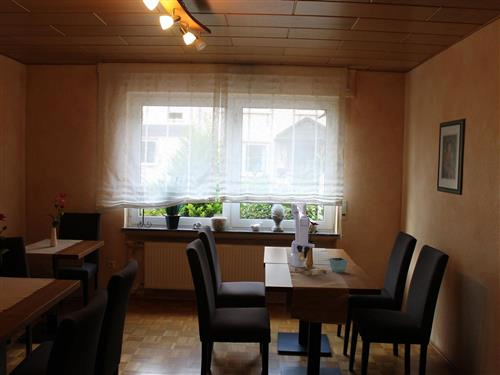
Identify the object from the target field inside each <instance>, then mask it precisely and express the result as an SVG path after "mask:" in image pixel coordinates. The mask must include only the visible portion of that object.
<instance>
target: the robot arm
mask: <svg viewBox="0 0 500 375" xmlns="http://www.w3.org/2000/svg"><path fill="white" fill-rule="evenodd" d="M290 209H291V210H290V212H291V213H290V214H291V216H292V217H293V218H294V233H295V240H293V241H292V242H291V249H290V250H291V254H290V255H289V256H290V257H289V266H292V267H295V268H304V266H305V262H302V263H301V262H299V252H302V251H304V258H306V257H307V258H308V255H307V253H309V251H310V249H311V248H315V244H314V243H310V242H309V228H310V224H311V221H310V220H311V219H310V217H309V216H308V215H307V203H306V202H293V201H292V202H291V204H290Z"/></svg>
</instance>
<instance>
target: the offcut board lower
mask: <svg viewBox="0 0 500 375" xmlns="http://www.w3.org/2000/svg"><path fill="white" fill-rule="evenodd" d="M308 272H309V271H308ZM317 274H320V275H324V274H323V271H321V272H317V273H312V275H315V276H318V275H317Z"/></svg>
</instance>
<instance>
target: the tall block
mask: <svg viewBox="0 0 500 375" xmlns="http://www.w3.org/2000/svg"><path fill="white" fill-rule="evenodd" d="M308 253H309V252H308ZM308 253H307V257H306V258H304V251H302V252H299V262H301V263H302V262H304V263H305V262H308Z"/></svg>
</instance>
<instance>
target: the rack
mask: <svg viewBox="0 0 500 375" xmlns="http://www.w3.org/2000/svg"><path fill="white" fill-rule="evenodd" d="M316 268H317V269H322V271H323V274H322V275H325V274H327V270H326V269H323V268H318V267H315V266H311V265H309V266H308V268H304V269H300V268H294V272H295V273H298V274H302V275H305V276H309V277H313V276H319V275H321V274H317V275H312V273H311V272H308V271H309V270H312V269H316Z"/></svg>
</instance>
